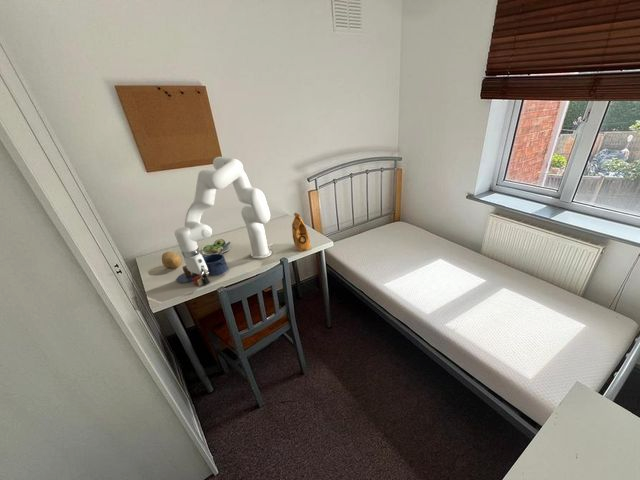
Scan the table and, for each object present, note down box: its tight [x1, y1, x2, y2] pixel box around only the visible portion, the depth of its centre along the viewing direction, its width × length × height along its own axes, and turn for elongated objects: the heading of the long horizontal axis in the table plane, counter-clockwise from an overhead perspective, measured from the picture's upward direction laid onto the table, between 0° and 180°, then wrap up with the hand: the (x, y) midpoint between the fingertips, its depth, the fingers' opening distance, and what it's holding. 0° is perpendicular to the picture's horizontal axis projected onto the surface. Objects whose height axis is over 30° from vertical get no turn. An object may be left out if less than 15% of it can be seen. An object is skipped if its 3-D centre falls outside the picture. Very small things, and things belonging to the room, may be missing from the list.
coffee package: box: [291, 212, 311, 252], centre depth 184 cm, size 10×12×22 cm
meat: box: [193, 273, 205, 287], centre depth 153 cm, size 6×4×4 cm
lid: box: [176, 265, 200, 284], centre depth 157 cm, size 12×12×7 cm
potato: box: [161, 251, 183, 269], centre depth 168 cm, size 10×14×8 cm
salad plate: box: [201, 238, 232, 256], centre depth 186 cm, size 19×18×5 cm
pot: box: [202, 254, 228, 277], centre depth 162 cm, size 11×17×8 cm
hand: (201, 282), depth 154 cm, fingers open, 6 cm apart
